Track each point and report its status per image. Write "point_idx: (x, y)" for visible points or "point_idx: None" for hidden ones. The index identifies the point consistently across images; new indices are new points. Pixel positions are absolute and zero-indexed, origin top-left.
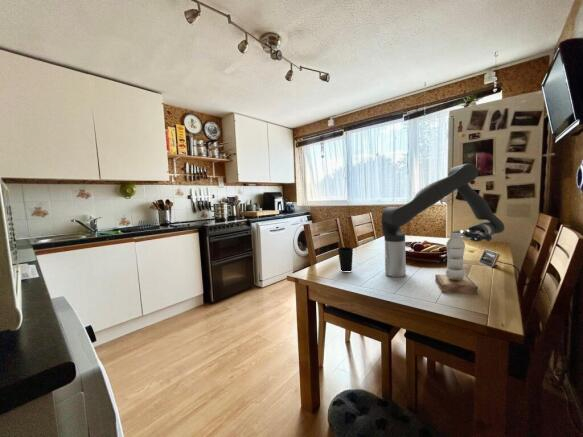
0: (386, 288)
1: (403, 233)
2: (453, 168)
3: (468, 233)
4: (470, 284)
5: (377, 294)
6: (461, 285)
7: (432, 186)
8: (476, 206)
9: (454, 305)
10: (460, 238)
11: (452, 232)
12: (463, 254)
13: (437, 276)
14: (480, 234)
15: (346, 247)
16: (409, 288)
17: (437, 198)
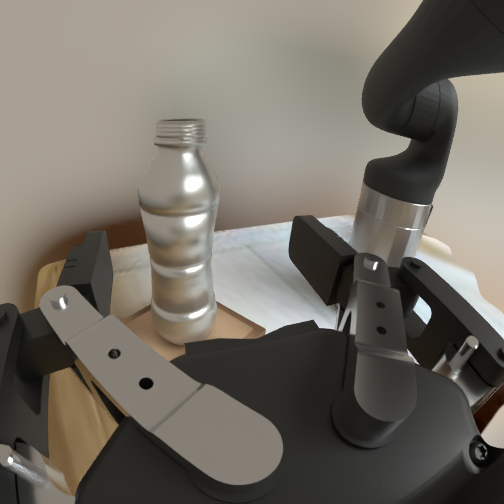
0: (277, 250)
1: (399, 170)
2: None
3: (293, 327)
4: (128, 325)
5: (259, 232)
6: (147, 310)
7: None
8: None
9: (133, 273)
10: (157, 154)
11: (202, 125)
12: (147, 239)
13: (246, 320)
14: (86, 303)
15: (431, 206)
16: (253, 273)
17: None
